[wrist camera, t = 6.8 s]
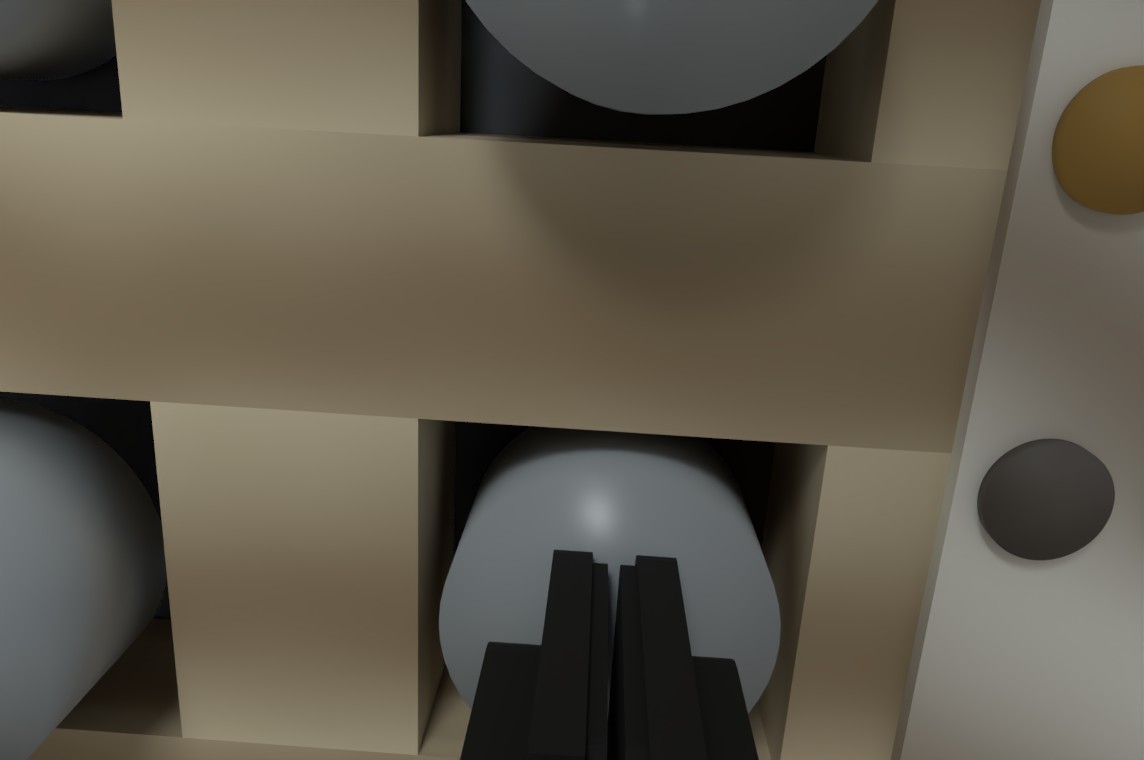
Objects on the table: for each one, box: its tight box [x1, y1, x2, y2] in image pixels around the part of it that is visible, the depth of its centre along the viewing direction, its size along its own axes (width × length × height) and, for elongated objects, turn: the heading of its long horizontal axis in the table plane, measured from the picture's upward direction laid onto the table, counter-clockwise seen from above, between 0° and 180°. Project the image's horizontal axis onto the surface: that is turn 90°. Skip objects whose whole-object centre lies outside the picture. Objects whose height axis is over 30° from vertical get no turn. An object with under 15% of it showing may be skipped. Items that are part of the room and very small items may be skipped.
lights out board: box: [0, 0, 1144, 760], centre depth 12 cm, size 18×24×4 cm
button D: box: [439, 426, 781, 713], centre depth 13 cm, size 5×5×3 cm
